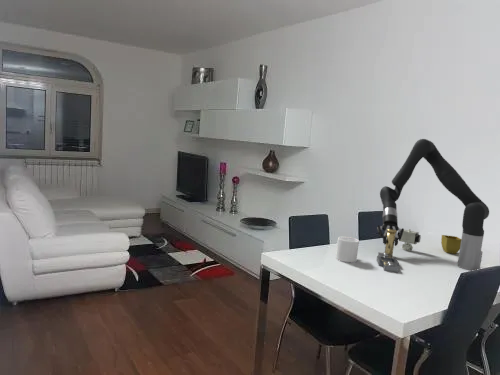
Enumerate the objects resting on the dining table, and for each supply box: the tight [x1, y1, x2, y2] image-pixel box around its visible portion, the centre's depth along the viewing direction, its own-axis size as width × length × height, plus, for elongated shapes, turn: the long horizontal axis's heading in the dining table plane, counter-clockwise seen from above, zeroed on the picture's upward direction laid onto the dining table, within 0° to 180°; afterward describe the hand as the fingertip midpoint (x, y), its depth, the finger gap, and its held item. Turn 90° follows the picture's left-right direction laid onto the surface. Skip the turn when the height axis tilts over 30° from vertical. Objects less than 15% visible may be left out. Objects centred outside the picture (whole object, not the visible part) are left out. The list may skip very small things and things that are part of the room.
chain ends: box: [376, 252, 400, 273], centre depth 189 cm, size 9×23×3 cm, turn 169°
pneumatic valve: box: [397, 229, 422, 252], centre depth 221 cm, size 6×12×12 cm, turn 54°
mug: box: [335, 236, 360, 264], centre depth 191 cm, size 13×10×10 cm
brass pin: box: [384, 229, 398, 257], centre depth 204 cm, size 5×5×14 cm
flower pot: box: [441, 234, 462, 255], centre depth 224 cm, size 9×9×9 cm
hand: (390, 244), depth 203 cm, fingers open, 4 cm apart
